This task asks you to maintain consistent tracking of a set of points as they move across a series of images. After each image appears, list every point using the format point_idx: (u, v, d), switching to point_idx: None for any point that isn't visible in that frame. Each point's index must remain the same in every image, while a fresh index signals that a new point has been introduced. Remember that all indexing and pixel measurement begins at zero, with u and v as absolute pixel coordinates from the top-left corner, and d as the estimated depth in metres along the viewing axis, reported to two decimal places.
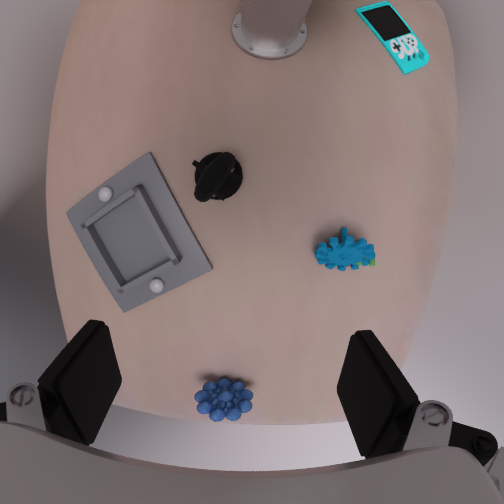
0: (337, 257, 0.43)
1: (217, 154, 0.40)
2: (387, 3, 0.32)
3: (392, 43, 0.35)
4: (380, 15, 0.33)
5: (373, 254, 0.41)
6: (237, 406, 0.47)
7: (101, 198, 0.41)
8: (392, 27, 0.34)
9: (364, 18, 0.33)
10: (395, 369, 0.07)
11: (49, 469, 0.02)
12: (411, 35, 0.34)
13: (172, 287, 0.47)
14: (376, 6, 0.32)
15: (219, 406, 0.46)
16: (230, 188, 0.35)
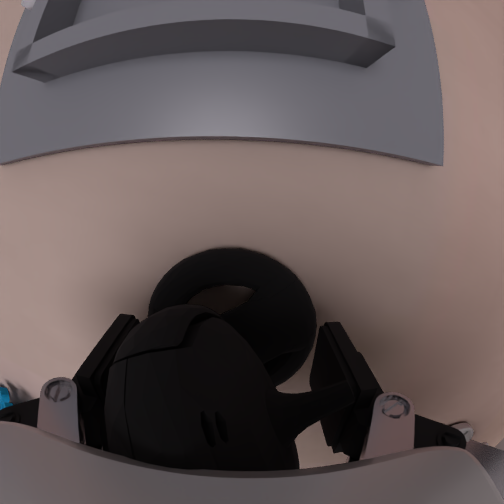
0: None
1: (298, 365, 0.12)
2: None
3: None
4: None
5: None
6: None
7: None
8: None
9: None
10: (357, 359, 0.07)
11: (49, 469, 0.02)
12: None
13: (17, 33, 0.06)
14: None
15: None
16: None
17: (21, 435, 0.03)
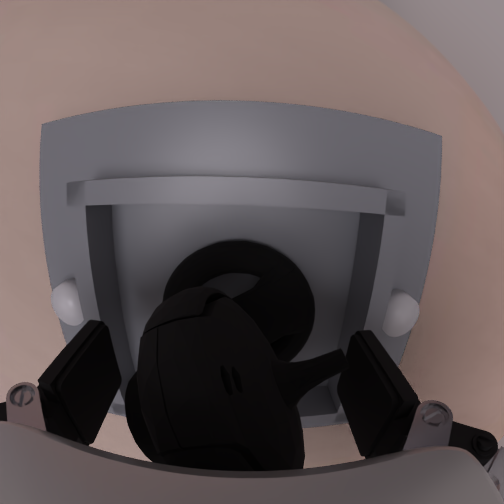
0: None
1: (300, 347, 0.13)
2: None
3: None
4: None
5: None
6: None
7: (401, 304, 0.13)
8: None
9: None
10: (395, 369, 0.07)
11: (49, 469, 0.02)
12: None
13: (63, 323, 0.14)
14: None
15: None
16: (159, 462, 0.06)
17: (21, 435, 0.03)
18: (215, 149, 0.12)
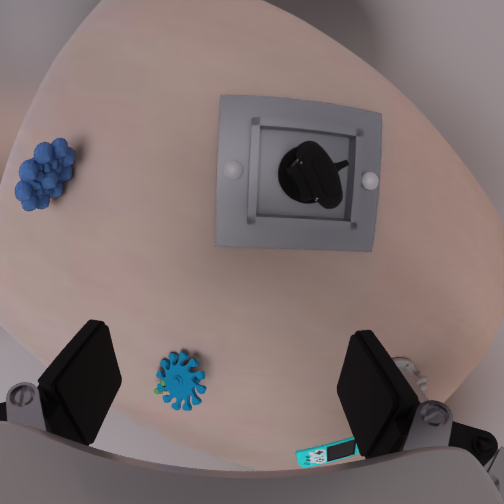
0: (181, 375, 0.40)
1: None
2: (356, 453, 0.53)
3: (323, 450, 0.52)
4: (348, 448, 0.52)
5: (167, 402, 0.39)
6: (31, 195, 0.27)
7: (369, 174, 0.33)
8: (335, 453, 0.53)
9: (350, 439, 0.51)
10: (395, 369, 0.07)
11: (49, 469, 0.02)
12: (324, 461, 0.53)
13: (218, 185, 0.34)
14: (356, 447, 0.52)
15: (38, 174, 0.25)
16: (300, 186, 0.27)
17: (21, 435, 0.03)
18: (299, 115, 0.32)
